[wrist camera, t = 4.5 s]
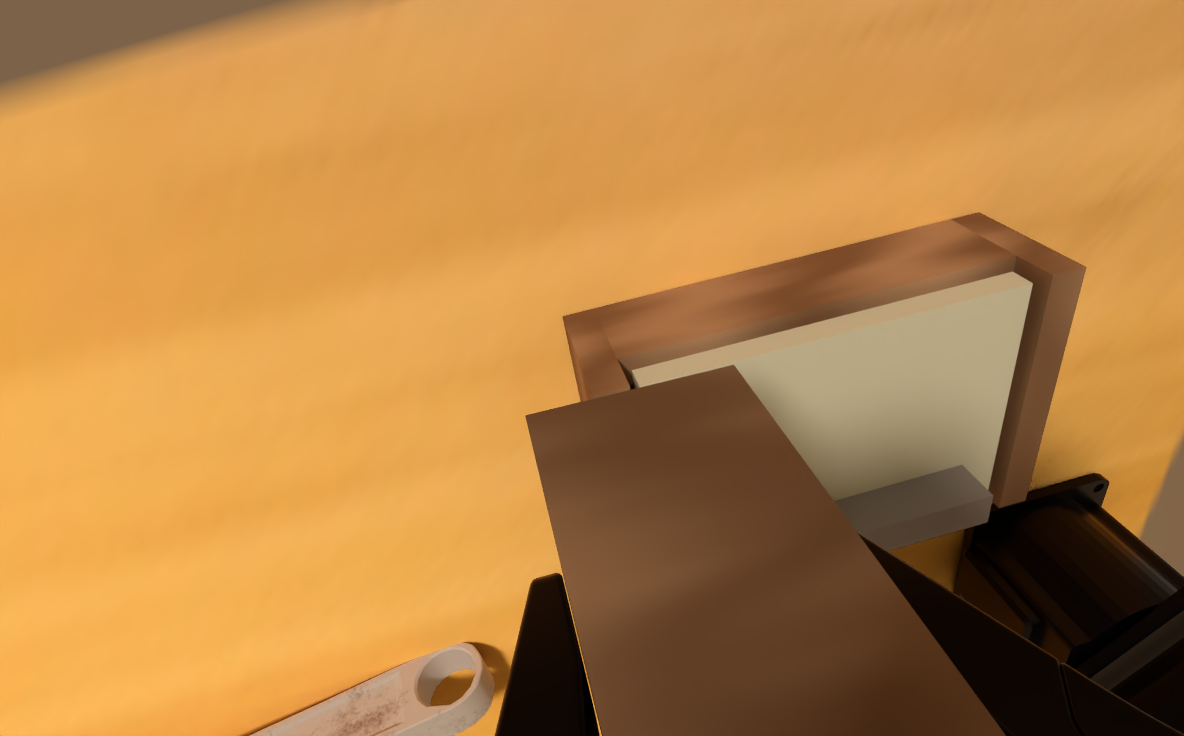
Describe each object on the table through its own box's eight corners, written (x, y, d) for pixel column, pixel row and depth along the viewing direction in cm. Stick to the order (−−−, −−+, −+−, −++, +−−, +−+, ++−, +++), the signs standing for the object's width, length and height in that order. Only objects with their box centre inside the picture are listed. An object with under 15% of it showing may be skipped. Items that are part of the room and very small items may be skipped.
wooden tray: (979, 212, 23) (1086, 267, 19) (945, 425, 28) (1025, 500, 24) (562, 316, 22) (592, 396, 18) (605, 519, 27) (636, 613, 23)
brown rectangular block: (734, 364, 10) (1131, 907, 5) (737, 513, 12) (1028, 1037, 7) (525, 415, 10) (682, 1068, 4) (559, 561, 12) (704, 1157, 6)
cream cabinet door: (1012, 271, 20) (1074, 307, 18) (971, 482, 25) (1017, 529, 23) (631, 370, 19) (655, 419, 17) (663, 571, 24) (684, 627, 22)
